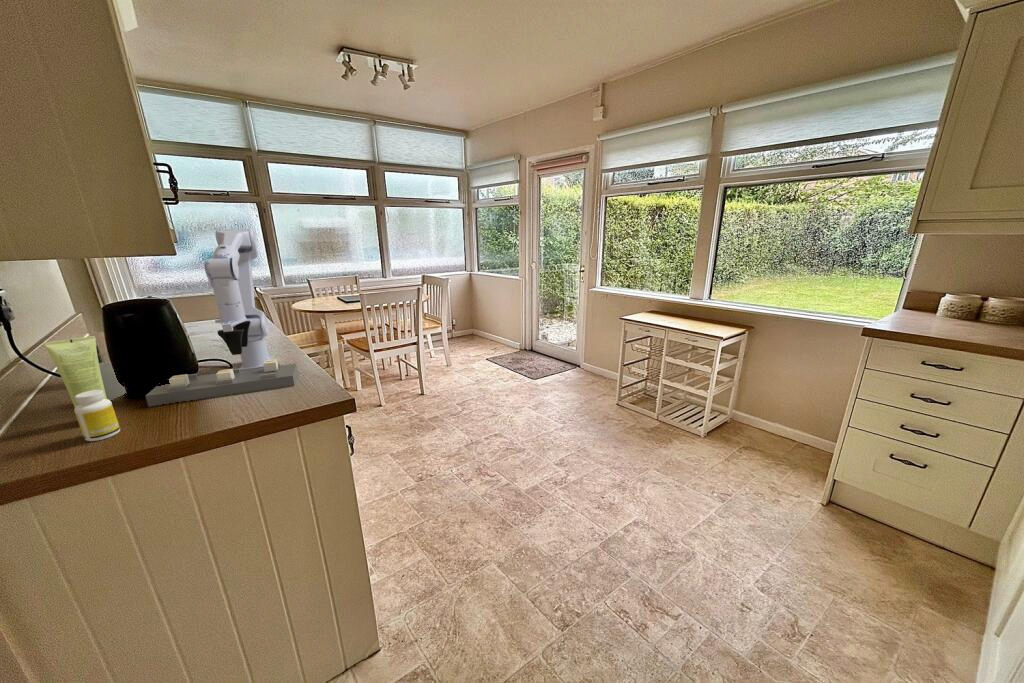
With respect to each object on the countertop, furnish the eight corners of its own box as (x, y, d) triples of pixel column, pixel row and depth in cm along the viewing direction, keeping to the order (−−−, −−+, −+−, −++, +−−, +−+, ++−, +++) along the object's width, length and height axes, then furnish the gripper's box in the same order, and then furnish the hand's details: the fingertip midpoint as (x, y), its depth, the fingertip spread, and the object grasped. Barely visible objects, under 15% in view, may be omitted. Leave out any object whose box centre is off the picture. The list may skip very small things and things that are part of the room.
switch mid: (221, 378, 103) (219, 369, 103) (234, 377, 105) (232, 368, 104) (218, 382, 101) (216, 373, 100) (232, 381, 102) (229, 371, 101)
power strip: (166, 390, 104) (162, 376, 103) (298, 372, 116) (295, 360, 115) (148, 406, 94) (144, 392, 93) (294, 385, 107) (292, 372, 106)
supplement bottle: (128, 429, 84) (114, 388, 81) (100, 442, 79) (84, 399, 76) (106, 428, 84) (92, 387, 82) (77, 441, 79) (61, 398, 76)
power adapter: (95, 402, 97) (79, 358, 94) (117, 394, 102) (103, 351, 99) (106, 403, 97) (91, 358, 93) (128, 394, 102) (114, 351, 99)
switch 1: (175, 384, 100) (173, 375, 99) (189, 382, 101) (187, 373, 100) (171, 389, 97) (168, 379, 96) (185, 387, 98) (183, 377, 97)
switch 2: (266, 368, 111) (264, 360, 110) (278, 367, 112) (276, 358, 111) (264, 372, 108) (263, 363, 108) (277, 370, 109) (275, 361, 109)
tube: (99, 413, 91) (71, 335, 86) (120, 413, 91) (94, 335, 86) (73, 425, 86) (42, 342, 80) (96, 425, 86) (67, 342, 80)
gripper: (219, 299, 108) (229, 345, 112) (203, 309, 96) (215, 360, 100) (248, 298, 111) (257, 342, 115) (236, 306, 98) (247, 356, 102)
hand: (240, 350), depth 107 cm, fingers open, 7 cm apart
